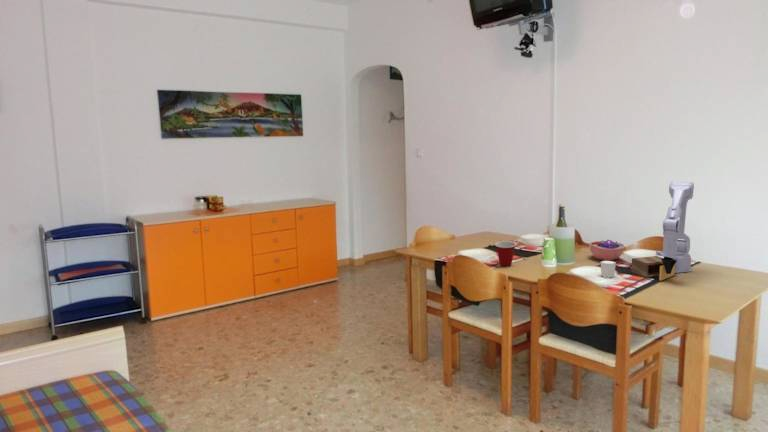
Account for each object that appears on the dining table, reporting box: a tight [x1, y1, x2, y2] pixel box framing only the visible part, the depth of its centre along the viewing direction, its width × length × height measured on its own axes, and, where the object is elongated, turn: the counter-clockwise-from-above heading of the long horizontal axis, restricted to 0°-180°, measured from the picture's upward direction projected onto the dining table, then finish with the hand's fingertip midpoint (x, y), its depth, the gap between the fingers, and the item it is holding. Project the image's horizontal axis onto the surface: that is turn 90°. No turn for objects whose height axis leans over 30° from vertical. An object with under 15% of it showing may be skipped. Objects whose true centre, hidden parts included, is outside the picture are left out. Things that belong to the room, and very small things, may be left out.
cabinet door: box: [658, 263, 676, 282], centre depth 252 cm, size 15×1×7 cm, turn 129°
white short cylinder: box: [600, 260, 617, 278], centre depth 258 cm, size 7×7×7 cm
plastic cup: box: [495, 240, 517, 268], centre depth 283 cm, size 11×11×12 cm
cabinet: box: [630, 255, 664, 278], centre depth 261 cm, size 14×10×7 cm
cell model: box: [588, 239, 626, 261], centre depth 290 cm, size 17×20×11 cm
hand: (668, 273), depth 248 cm, fingers closed
